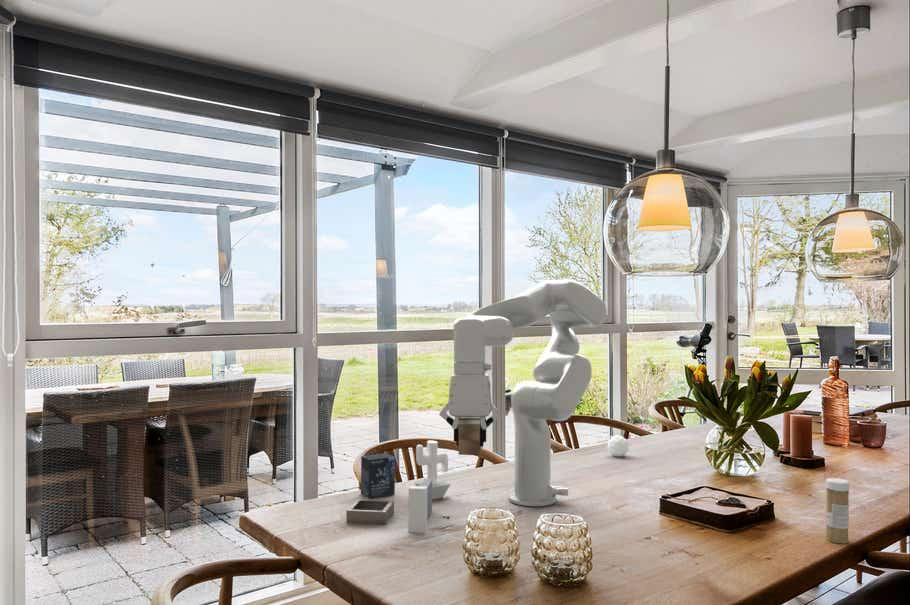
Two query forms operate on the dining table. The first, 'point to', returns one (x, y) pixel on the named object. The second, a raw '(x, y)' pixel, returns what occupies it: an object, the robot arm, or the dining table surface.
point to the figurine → (433, 467)
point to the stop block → (469, 436)
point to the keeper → (370, 512)
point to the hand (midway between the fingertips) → (470, 444)
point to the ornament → (618, 446)
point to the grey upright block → (419, 506)
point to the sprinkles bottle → (837, 510)
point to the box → (377, 475)
